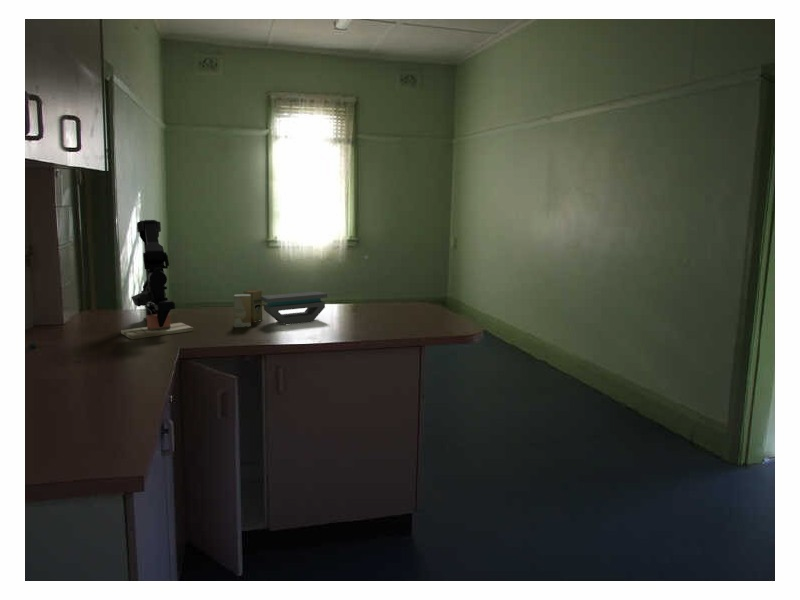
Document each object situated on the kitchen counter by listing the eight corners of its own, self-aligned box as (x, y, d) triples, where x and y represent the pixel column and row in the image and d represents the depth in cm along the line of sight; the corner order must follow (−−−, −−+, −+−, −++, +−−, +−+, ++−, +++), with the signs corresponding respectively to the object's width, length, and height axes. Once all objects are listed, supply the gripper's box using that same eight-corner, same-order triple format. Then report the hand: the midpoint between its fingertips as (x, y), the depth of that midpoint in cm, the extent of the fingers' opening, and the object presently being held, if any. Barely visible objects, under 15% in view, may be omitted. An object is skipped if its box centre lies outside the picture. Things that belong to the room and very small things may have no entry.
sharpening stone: (268, 326, 234) (267, 298, 232) (261, 323, 241) (260, 296, 239) (327, 320, 247) (327, 293, 245) (319, 317, 254) (319, 291, 252)
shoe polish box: (244, 321, 244) (243, 291, 242) (252, 319, 248) (251, 290, 246) (254, 322, 242) (253, 292, 240) (262, 320, 246) (261, 290, 244)
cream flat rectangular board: (120, 333, 221) (120, 330, 221) (181, 325, 235) (180, 322, 235) (131, 339, 212) (131, 335, 212) (193, 330, 226) (193, 327, 226)
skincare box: (234, 327, 232) (233, 296, 230) (234, 325, 236) (233, 294, 234) (251, 326, 234) (250, 295, 232) (251, 324, 238) (250, 293, 236)
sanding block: (147, 328, 223) (146, 315, 222) (166, 326, 227) (165, 312, 227) (151, 330, 220) (150, 316, 219) (170, 327, 224) (169, 314, 224)
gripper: (124, 282, 223) (127, 324, 225) (142, 288, 209) (145, 333, 211) (155, 280, 230) (158, 320, 232) (174, 285, 216) (177, 329, 219)
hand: (158, 325), depth 224 cm, fingers closed on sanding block, 4 cm apart
